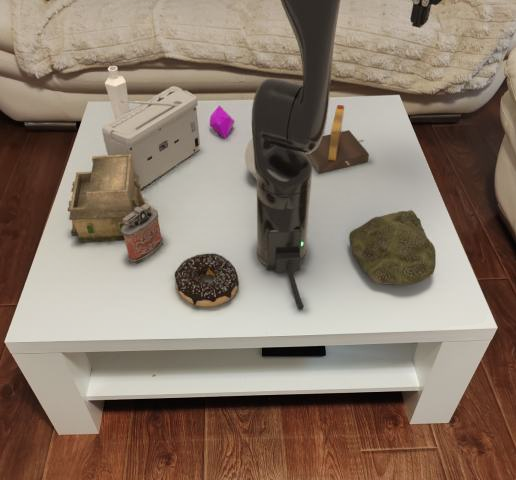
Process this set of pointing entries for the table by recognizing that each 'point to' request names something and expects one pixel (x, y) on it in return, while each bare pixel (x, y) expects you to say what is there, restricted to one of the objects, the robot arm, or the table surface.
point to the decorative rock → (394, 249)
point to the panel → (338, 153)
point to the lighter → (142, 233)
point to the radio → (156, 133)
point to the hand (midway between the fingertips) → (418, 25)
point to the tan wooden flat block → (336, 132)
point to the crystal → (221, 121)
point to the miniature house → (104, 198)
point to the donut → (206, 290)
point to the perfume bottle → (117, 92)
